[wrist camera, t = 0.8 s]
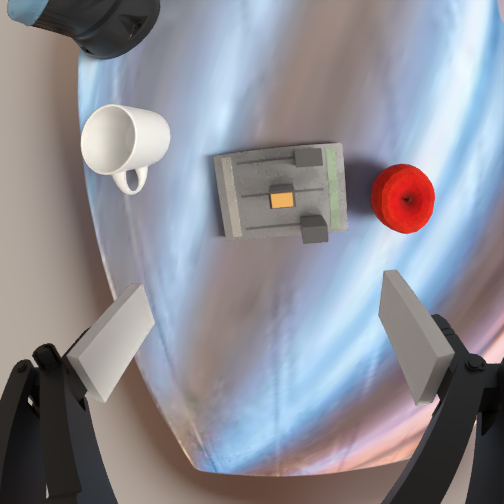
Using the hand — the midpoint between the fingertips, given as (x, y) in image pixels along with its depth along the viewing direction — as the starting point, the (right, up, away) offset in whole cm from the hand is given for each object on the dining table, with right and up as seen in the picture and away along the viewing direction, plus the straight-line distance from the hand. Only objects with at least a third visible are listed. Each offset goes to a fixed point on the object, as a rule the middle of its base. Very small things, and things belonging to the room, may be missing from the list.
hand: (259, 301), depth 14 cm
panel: (+4, +11, +24) cm, 26 cm away
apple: (+19, +11, +22) cm, 32 cm away
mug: (-16, +18, +24) cm, 34 cm away
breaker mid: (+4, +10, +22) cm, 24 cm away
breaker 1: (+6, +15, +20) cm, 26 cm away
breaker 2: (+8, +6, +23) cm, 25 cm away
